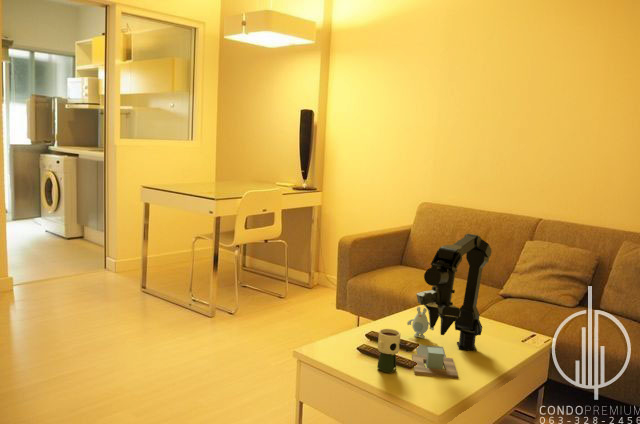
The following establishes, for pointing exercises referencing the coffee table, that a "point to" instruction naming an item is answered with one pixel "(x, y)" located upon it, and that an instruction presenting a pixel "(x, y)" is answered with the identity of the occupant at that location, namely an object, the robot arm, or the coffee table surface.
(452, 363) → the walnut pocket plate
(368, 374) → the coffee table surface
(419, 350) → the rubber mat
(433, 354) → the slate block
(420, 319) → the toy figure
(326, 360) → the coffee table surface
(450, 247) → the robot arm
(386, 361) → the character mug
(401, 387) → the coffee table surface
